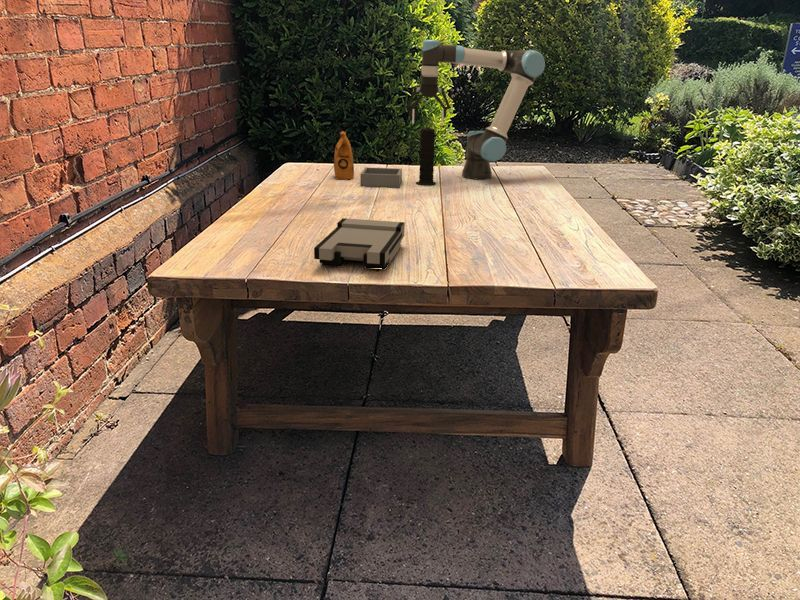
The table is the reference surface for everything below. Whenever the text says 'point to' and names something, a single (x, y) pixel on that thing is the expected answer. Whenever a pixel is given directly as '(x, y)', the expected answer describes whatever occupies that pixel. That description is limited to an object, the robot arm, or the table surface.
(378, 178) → the box
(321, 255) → the office tray
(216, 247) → the table surface
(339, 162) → the coffee package
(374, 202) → the table surface
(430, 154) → the black upright pillar
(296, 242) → the table surface
